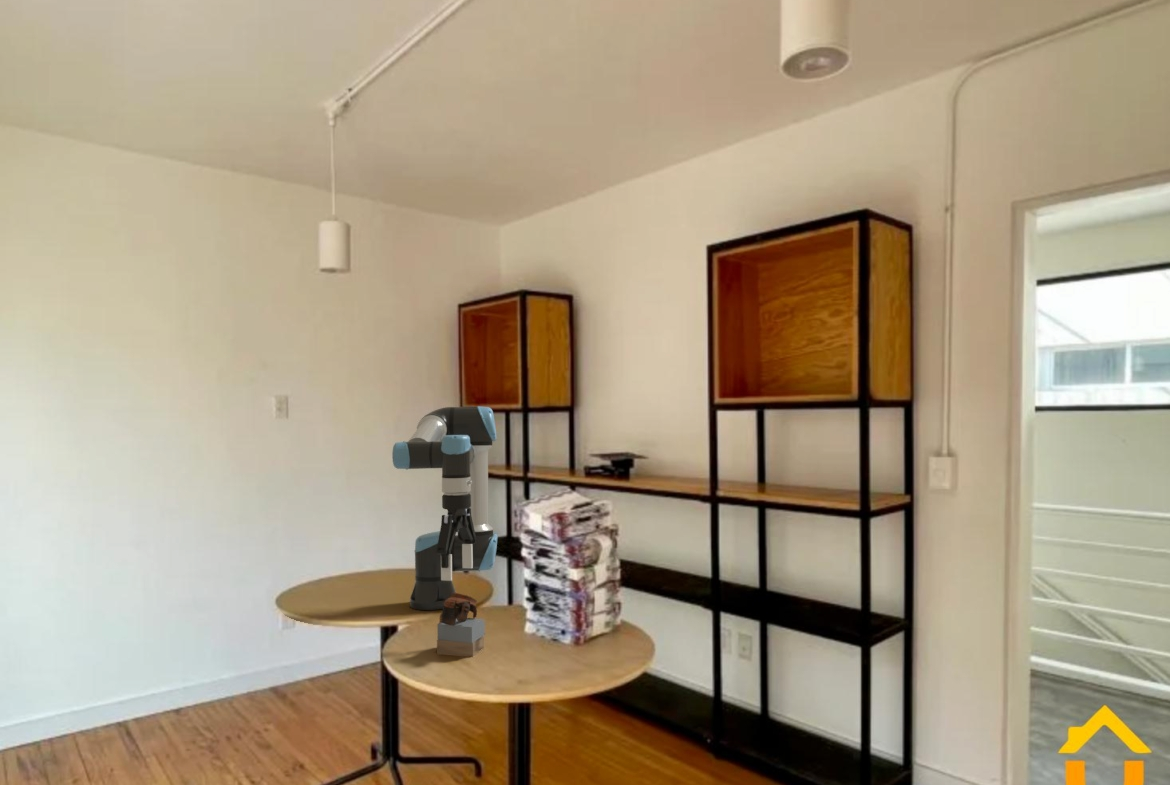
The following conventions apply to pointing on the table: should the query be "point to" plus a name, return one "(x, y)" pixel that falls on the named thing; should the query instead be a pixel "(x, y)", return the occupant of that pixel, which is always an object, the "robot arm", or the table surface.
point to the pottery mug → (461, 612)
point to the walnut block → (460, 647)
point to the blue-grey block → (462, 630)
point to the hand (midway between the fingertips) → (457, 574)
